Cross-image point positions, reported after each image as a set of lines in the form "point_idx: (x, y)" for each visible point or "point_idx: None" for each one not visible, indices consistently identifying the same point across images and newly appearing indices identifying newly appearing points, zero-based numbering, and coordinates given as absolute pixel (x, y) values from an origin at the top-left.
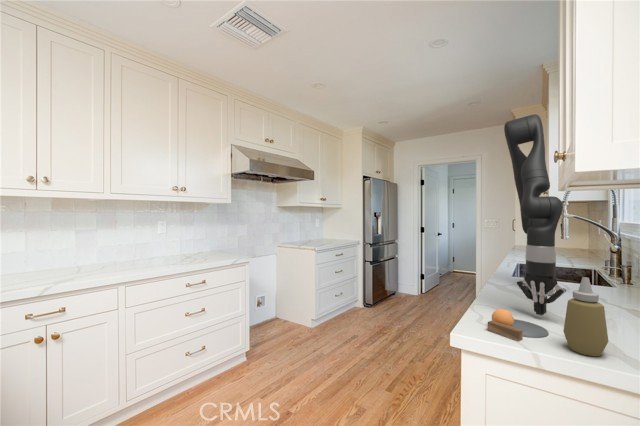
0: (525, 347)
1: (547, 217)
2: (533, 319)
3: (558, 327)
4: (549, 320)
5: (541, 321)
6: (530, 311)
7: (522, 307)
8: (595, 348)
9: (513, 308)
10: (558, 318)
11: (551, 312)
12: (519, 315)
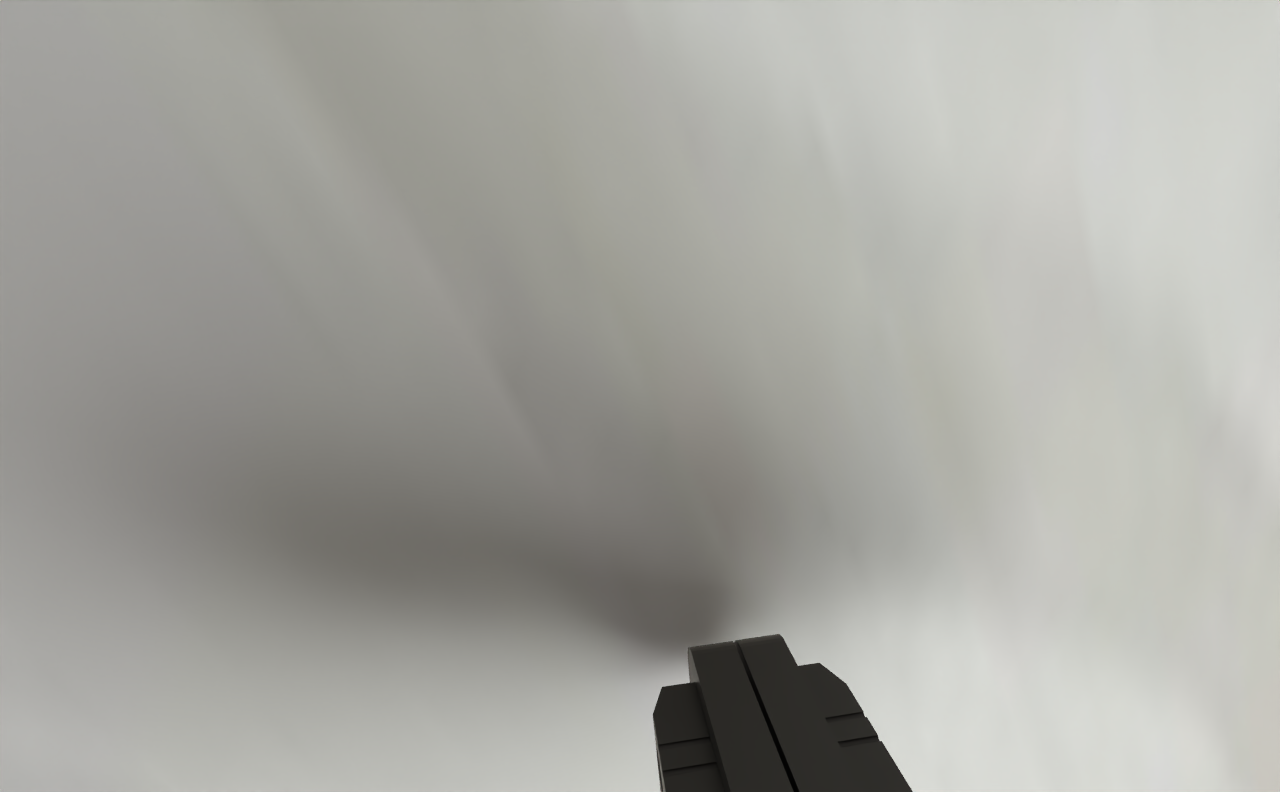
0: None
1: None
2: None
3: (993, 712)
4: (817, 553)
5: None
6: (397, 378)
7: (131, 256)
8: None
9: (127, 510)
10: (859, 308)
11: (628, 11)
12: (461, 756)
